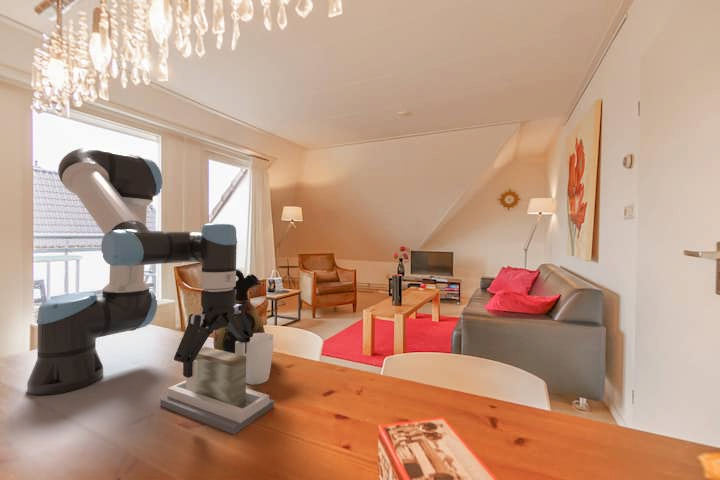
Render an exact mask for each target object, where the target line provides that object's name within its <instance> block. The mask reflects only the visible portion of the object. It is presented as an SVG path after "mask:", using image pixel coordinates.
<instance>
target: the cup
mask: <svg viewBox="0 0 720 480" xmlns="http://www.w3.org/2000/svg"><path fill="white" fill-rule="evenodd" d="M274 346H275V344H274V335H273V334H271V333H268V332H265V333H253V337H250V342H247V351H246V354H245V356H246V385H247V384H248V385H251V386H255V385H262V384H264V383H266V382H267V381H268V380H269V379H270V373H271V367H272V362H273V361H272V360H273V353H274Z"/></svg>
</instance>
